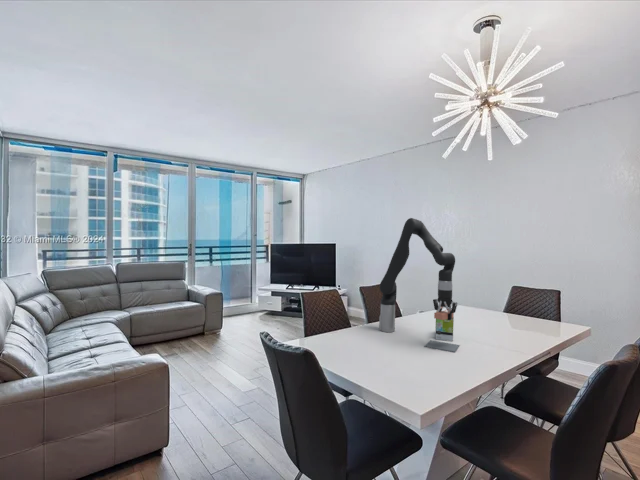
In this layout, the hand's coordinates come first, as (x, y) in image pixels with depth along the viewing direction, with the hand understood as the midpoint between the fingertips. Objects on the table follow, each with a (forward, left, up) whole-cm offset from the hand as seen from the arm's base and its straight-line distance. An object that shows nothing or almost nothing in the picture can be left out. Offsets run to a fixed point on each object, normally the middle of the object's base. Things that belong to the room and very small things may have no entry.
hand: (444, 319), depth 188 cm
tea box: (-4, +19, -16) cm, 25 cm away
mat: (-1, -1, -15) cm, 15 cm away
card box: (-2, -6, +2) cm, 7 cm away
